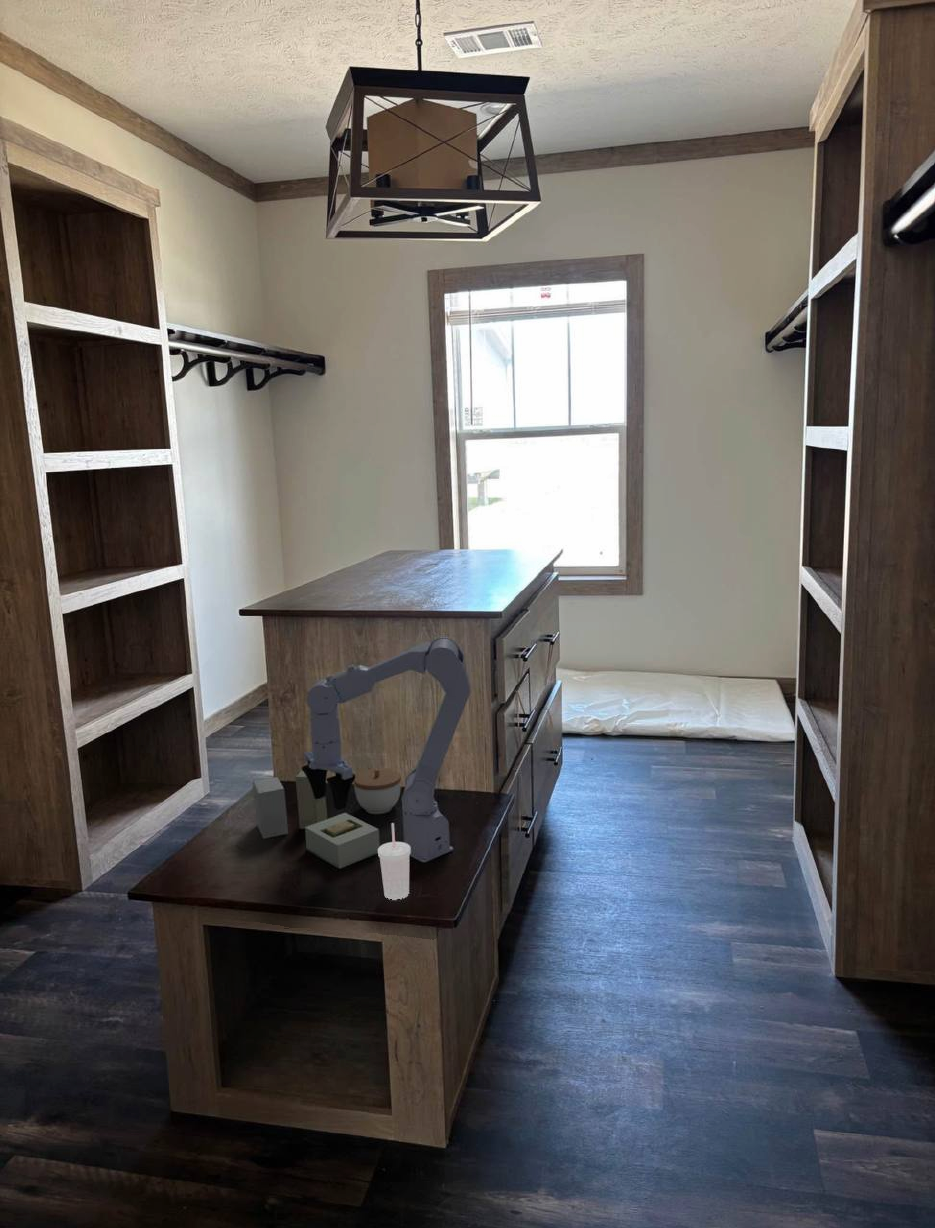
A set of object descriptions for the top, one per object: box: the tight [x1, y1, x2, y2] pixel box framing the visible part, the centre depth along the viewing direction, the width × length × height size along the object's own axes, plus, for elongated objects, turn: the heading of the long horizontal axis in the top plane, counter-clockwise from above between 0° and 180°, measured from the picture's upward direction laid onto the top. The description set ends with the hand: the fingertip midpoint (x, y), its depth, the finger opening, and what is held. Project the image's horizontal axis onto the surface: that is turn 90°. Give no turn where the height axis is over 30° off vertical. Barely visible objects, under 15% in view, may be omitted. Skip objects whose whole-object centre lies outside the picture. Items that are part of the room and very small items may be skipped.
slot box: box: [304, 812, 381, 869], centre depth 184 cm, size 12×10×5 cm
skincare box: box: [295, 769, 328, 830], centre depth 197 cm, size 6×4×12 cm
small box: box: [252, 776, 289, 840], centre depth 195 cm, size 8×6×10 cm
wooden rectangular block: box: [326, 821, 355, 838], centre depth 184 cm, size 3×5×5 cm, turn 134°
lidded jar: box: [353, 767, 402, 815], centre depth 205 cm, size 11×11×9 cm
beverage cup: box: [377, 822, 411, 901], centre depth 165 cm, size 6×6×14 cm
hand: (330, 803), depth 183 cm, fingers open, 7 cm apart
